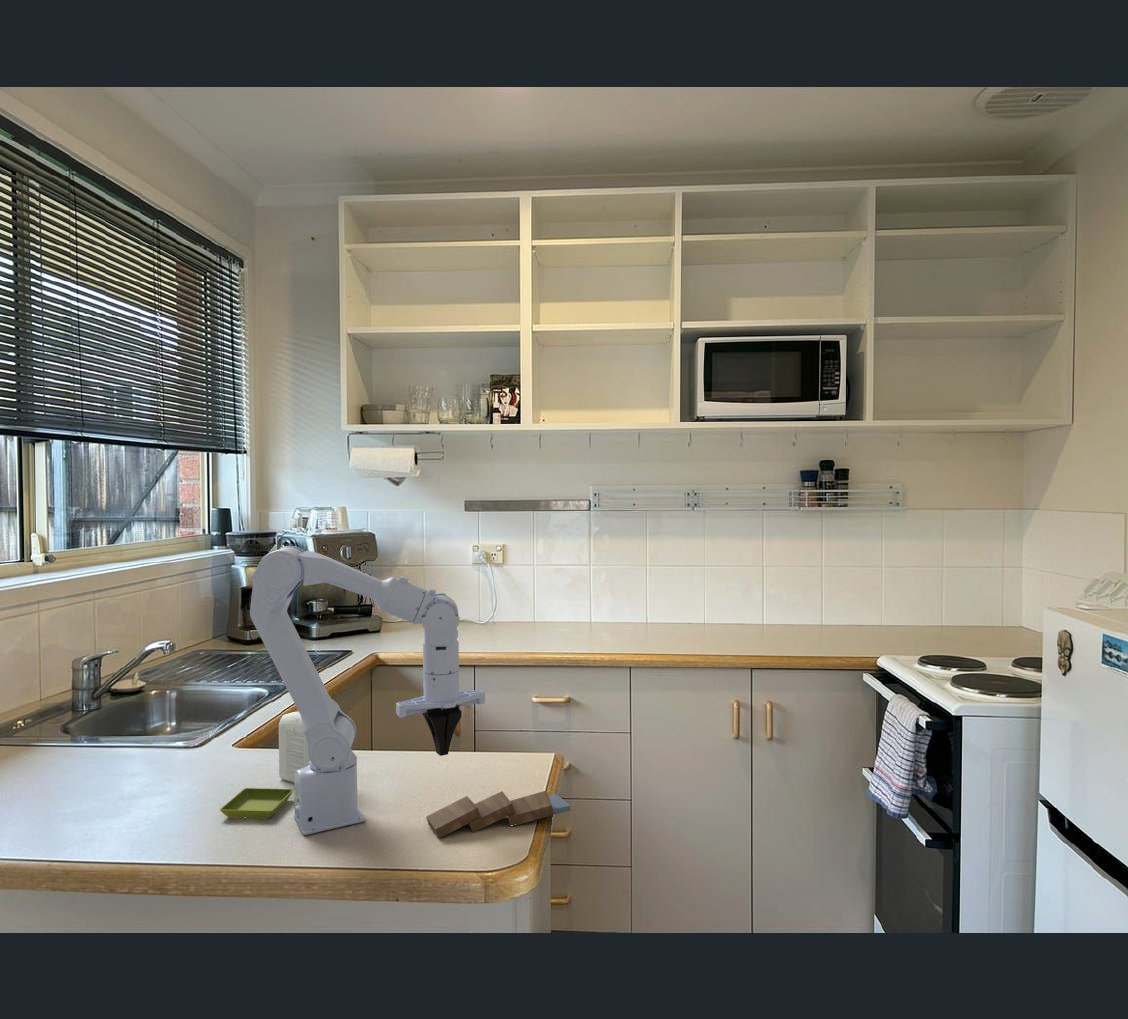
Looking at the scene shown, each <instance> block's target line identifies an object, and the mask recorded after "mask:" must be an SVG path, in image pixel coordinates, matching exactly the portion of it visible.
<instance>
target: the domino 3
mask: <svg viewBox="0 0 1128 1019" xmlns="http://www.w3.org/2000/svg"><path fill="white" fill-rule="evenodd" d="M549 796H550V795H549V792H548V791H547V790H544V791H540V792H537V793H532V794H530V795H526V796H522V797H518V798H515V799H511V800H510V802H511V803H512V805H513V809H514V812H515V813H513V814H511V815H508V816H507V819H508V824H509V826H510V825H515V824H519V825H522V824H526V823H529V822H533V821H536V820H540V819H543V818H546V817H550V816H553V815H555V814H554V813H553V808H552V804H551V801H550V799H549Z"/></svg>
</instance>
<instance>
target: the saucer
mask: <svg viewBox="0 0 1128 1019" xmlns="http://www.w3.org/2000/svg"><path fill="white" fill-rule="evenodd" d="M293 792H294V788H293V789H291V788H269V787H268V788H265V787H263V788H261V787H259V788H257V787H245V788H242V789H241V790H240V791H239V792H238V793H237V794H236V795H235V796H234V797H232V799H231V800H229V801H228V802H227V803H226V804H224V805H223V806H222V807H220V808H219V811H220V812H221V813H222V814H223V815H224V816H226V817H228V818H229V817H239V818H238V819H261V818H268V819H271V817H272V816H273V815H274V814H275V813H276V812H277V811H278V810H279V809H280V808H281V807H282V806H283V805H284V804H285V803H286V802H287V801H288V800H289V798H290V797H291V796H292V794H293ZM240 817H241V818H240ZM244 817H246V818H244Z"/></svg>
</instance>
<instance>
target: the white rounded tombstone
mask: <svg viewBox="0 0 1128 1019" xmlns="http://www.w3.org/2000/svg"><path fill="white" fill-rule="evenodd" d="M309 762H310V759H309V756H308V742H307V739H306V737H305V735H304V732H303V725H302V718H301V715H300V713H299V711H293V712H290V713H286V714H283V715H282V717H280V720H279V723H278V774H279V778H281V780H284V781H288V782H291V783H294V775H295V771H296V770H298V769H302V768H305V767H307V766H308V765H310V764H309Z"/></svg>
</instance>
